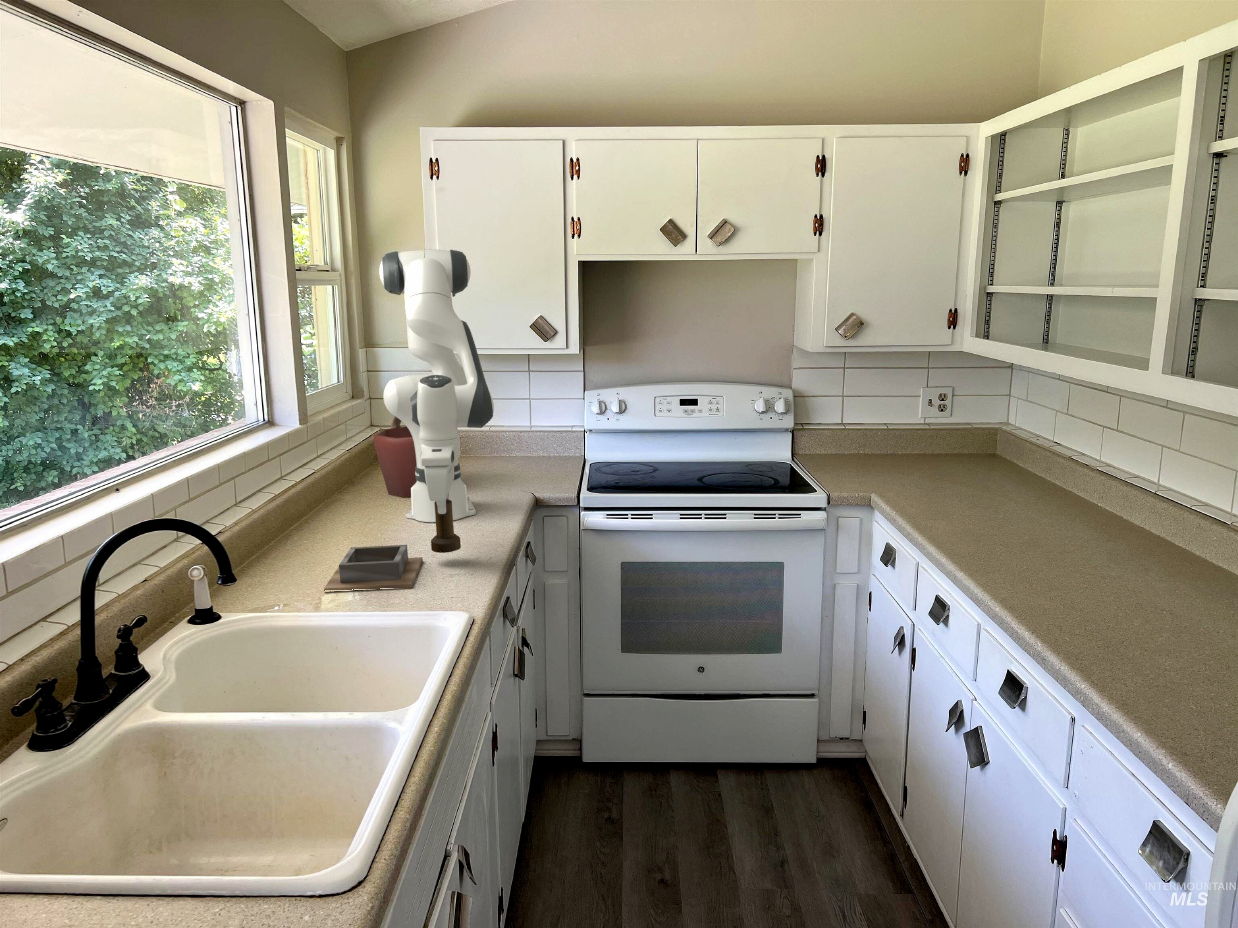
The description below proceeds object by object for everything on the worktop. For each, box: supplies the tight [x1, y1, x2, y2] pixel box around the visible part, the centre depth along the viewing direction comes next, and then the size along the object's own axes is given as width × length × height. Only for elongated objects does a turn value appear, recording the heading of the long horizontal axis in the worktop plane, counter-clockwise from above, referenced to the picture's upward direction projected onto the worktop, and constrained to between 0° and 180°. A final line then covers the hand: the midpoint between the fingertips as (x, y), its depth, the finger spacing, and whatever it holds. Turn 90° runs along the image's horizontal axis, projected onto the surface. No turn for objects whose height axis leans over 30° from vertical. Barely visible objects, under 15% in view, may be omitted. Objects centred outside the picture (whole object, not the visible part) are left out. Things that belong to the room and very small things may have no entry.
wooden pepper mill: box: [430, 498, 462, 554], centre depth 198 cm, size 7×6×18 cm
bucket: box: [372, 415, 417, 499], centre depth 266 cm, size 24×22×25 cm
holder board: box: [323, 544, 424, 592], centre depth 192 cm, size 18×18×5 cm
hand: (443, 509), depth 198 cm, fingers closed on wooden pepper mill, 4 cm apart
